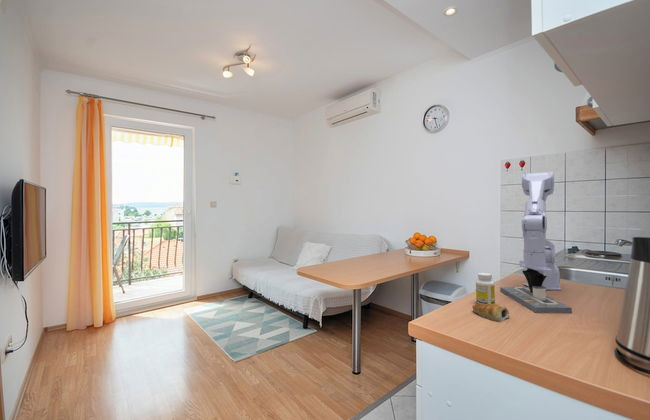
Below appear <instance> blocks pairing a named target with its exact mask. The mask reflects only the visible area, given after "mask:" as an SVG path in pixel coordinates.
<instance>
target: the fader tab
mask: <svg viewBox="0 0 650 420" xmlns="http://www.w3.org/2000/svg"><path fill="white" fill-rule="evenodd" d="M532 287H533V297H534V298H536V299H538V300H540V301H546V298H545V297H546V296H547V290H546V287H544V286H532Z"/></svg>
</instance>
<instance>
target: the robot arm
mask: <svg viewBox="0 0 650 420" xmlns="http://www.w3.org/2000/svg"><path fill="white" fill-rule="evenodd" d="M521 186H522V187H521V188H522V191H523V193H524V195H526V196H527V197H529V199H528V200H527V201H525V205H524V216H522V218H521V229H522V238H523V249H522V250H523V252H522V253H523V257H522V258H523V260H519V267H521V268H525V270H524V269H523V270H522V274H523V275H524V277H525V279H526V282H524V283H523V286H526V287H529V289H530V292H531V293H533V287H532V286H544V287H546V291H547V290H549V291H551V290H554V291H558V290H559V291H561V290H562V288H561V281H560V280H561V273H560V269H559V267H558V266H557V265H556V247H555V246H556V245H555V244H554V242H552V241H550V239H548V238H546V236H547V235H546V234H547V233H546V232H547V227H548V223H547V214H546V209H547V208H546V207H547V205H546V201H547V198H548V196H551V195H553V193H554V191H555V172H553V171H552V170H551V171H544V172H530V173H529V172H528V173H523V174H522V175H521Z"/></svg>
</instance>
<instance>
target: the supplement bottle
mask: <svg viewBox="0 0 650 420" xmlns="http://www.w3.org/2000/svg"><path fill="white" fill-rule="evenodd" d="M477 278H478V279H477V280H476V281H475V294H476V295H475V296H476V297H475V298H476V299H475V300H476V303H477V304H496V291H495V282H494V281H493V280H492V279H493V275H492V273H489V272H488V273H487V272H478V273H477Z"/></svg>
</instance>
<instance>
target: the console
mask: <svg viewBox="0 0 650 420" xmlns="http://www.w3.org/2000/svg"><path fill="white" fill-rule="evenodd" d="M499 290H500V292H501V293H502V294H504V295H505V296H508V297H509V298H511V299H513V300H514V301H515V302H517V303H518V304H521V306H524V307H526V308H527V309H529V310H530V311H532V312H534V313H537V314H539V313H540V314H573V309H572V307H571V306H569V305H567V304H564V303H563V302H560V301H558V300H557V299H554V298H552V297H550V296H548V295H546V297H545V298H546V301H540V300H538V299H536V298H534V297H533V293H531V292H530V289H529V287H528V286H526V287H524V286H522V287H521V286H520V287H519V286H517V287H515V286H514V287H512V286H509V287H508V286H500V287H499Z"/></svg>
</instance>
